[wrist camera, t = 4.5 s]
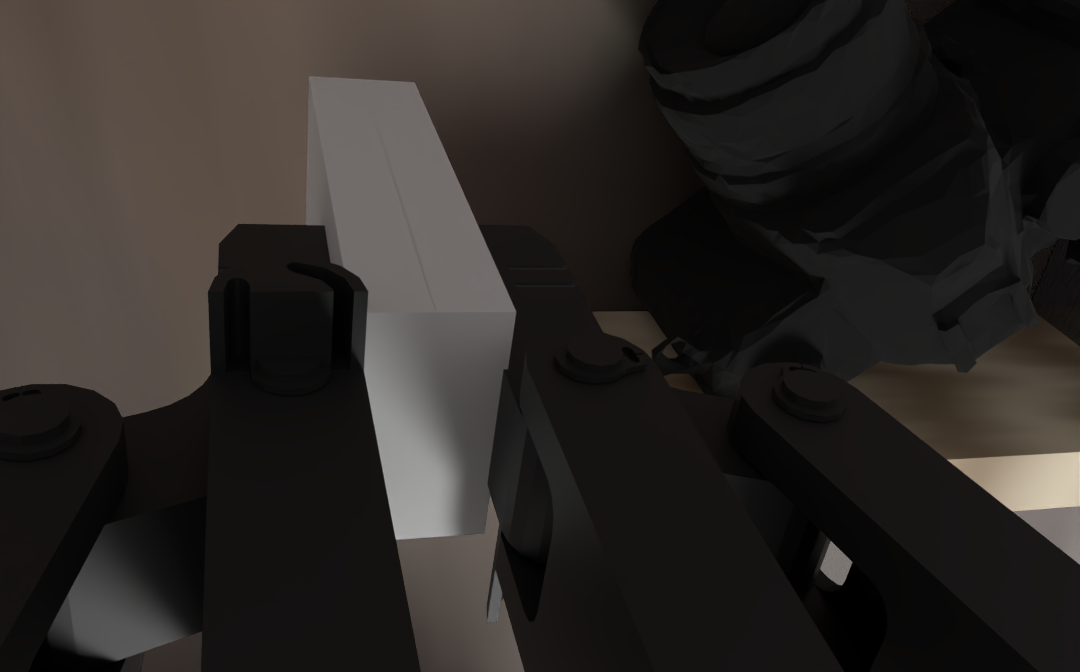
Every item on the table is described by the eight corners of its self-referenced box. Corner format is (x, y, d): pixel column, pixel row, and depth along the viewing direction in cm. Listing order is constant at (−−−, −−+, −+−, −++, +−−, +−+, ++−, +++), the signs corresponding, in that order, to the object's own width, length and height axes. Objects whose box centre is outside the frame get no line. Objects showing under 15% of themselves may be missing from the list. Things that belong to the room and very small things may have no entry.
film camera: (961, -248, 25) (1263, -228, 18) (1058, 56, 31) (1320, 168, 23) (477, 120, 27) (568, 276, 20) (650, 345, 32) (772, 535, 25)
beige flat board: (468, 368, 31) (532, 548, 24) (475, 312, 30) (543, 483, 23) (1096, 353, 38) (1278, 490, 31) (1119, 307, 37) (1312, 438, 30)
